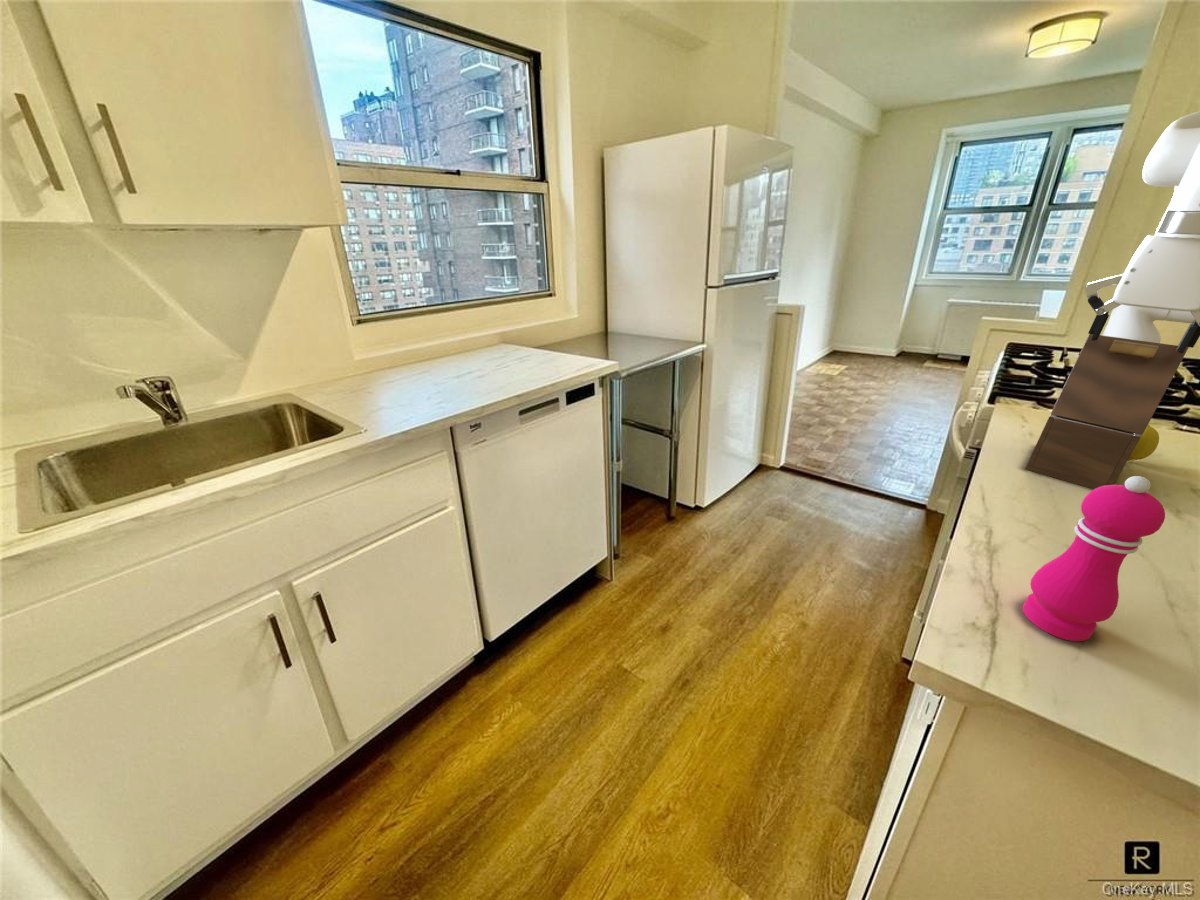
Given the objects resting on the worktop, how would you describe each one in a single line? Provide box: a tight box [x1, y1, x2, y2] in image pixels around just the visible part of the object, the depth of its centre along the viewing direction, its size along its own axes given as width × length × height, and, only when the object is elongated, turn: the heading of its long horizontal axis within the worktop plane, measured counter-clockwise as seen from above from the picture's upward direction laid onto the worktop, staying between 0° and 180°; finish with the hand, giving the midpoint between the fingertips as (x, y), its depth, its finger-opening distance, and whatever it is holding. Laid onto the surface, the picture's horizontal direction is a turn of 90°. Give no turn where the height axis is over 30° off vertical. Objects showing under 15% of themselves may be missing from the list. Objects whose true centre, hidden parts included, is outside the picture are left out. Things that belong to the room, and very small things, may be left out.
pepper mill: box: [1022, 475, 1166, 642], centre depth 53 cm, size 7×7×20 cm
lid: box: [1050, 334, 1190, 435], centre depth 79 cm, size 14×12×6 cm
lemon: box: [1127, 423, 1160, 462], centre depth 92 cm, size 6×6×8 cm
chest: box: [1024, 414, 1141, 490], centre depth 89 cm, size 14×12×11 cm
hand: (1135, 344), depth 76 cm, fingers open, 9 cm apart
